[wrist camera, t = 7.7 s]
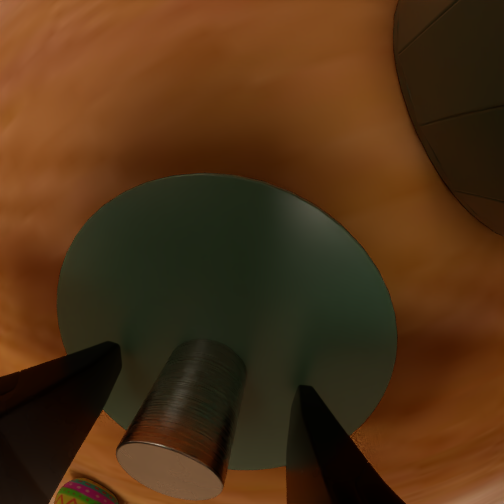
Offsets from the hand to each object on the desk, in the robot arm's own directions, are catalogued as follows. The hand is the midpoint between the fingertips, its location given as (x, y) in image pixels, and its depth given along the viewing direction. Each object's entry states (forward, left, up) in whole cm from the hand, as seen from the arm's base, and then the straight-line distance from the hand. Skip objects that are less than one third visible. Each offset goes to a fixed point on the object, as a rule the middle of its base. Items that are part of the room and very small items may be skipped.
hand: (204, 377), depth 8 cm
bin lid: (0, 0, -1) cm, 1 cm away
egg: (+8, +17, -2) cm, 19 cm away
